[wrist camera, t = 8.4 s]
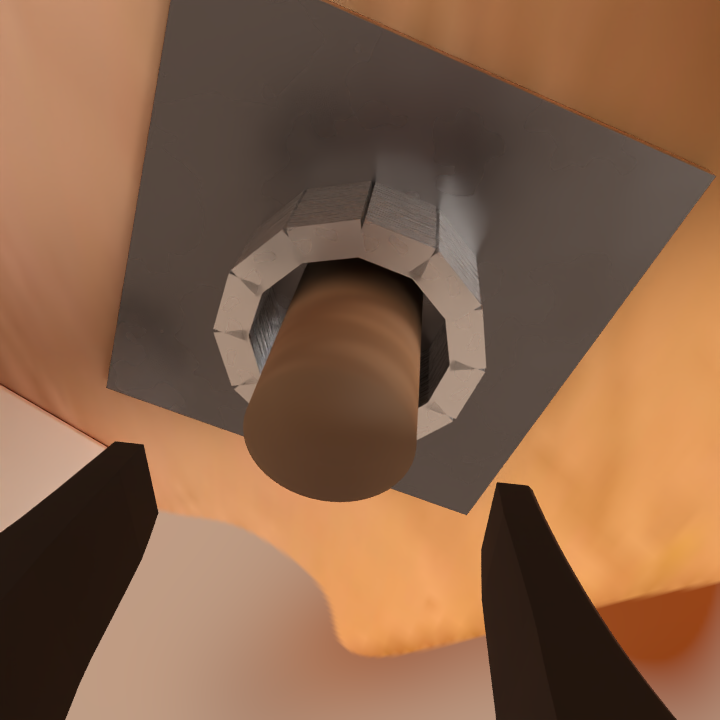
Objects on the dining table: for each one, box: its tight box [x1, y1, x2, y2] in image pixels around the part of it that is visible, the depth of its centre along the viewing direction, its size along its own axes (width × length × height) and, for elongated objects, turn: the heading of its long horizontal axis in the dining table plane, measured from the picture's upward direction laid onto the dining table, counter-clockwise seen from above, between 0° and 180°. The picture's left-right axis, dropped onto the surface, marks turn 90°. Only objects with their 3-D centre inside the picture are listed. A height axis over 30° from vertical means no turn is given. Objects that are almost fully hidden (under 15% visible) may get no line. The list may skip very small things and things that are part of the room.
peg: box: [243, 257, 423, 502], centre depth 17 cm, size 4×4×7 cm
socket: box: [106, 0, 716, 515], centre depth 19 cm, size 15×15×4 cm
